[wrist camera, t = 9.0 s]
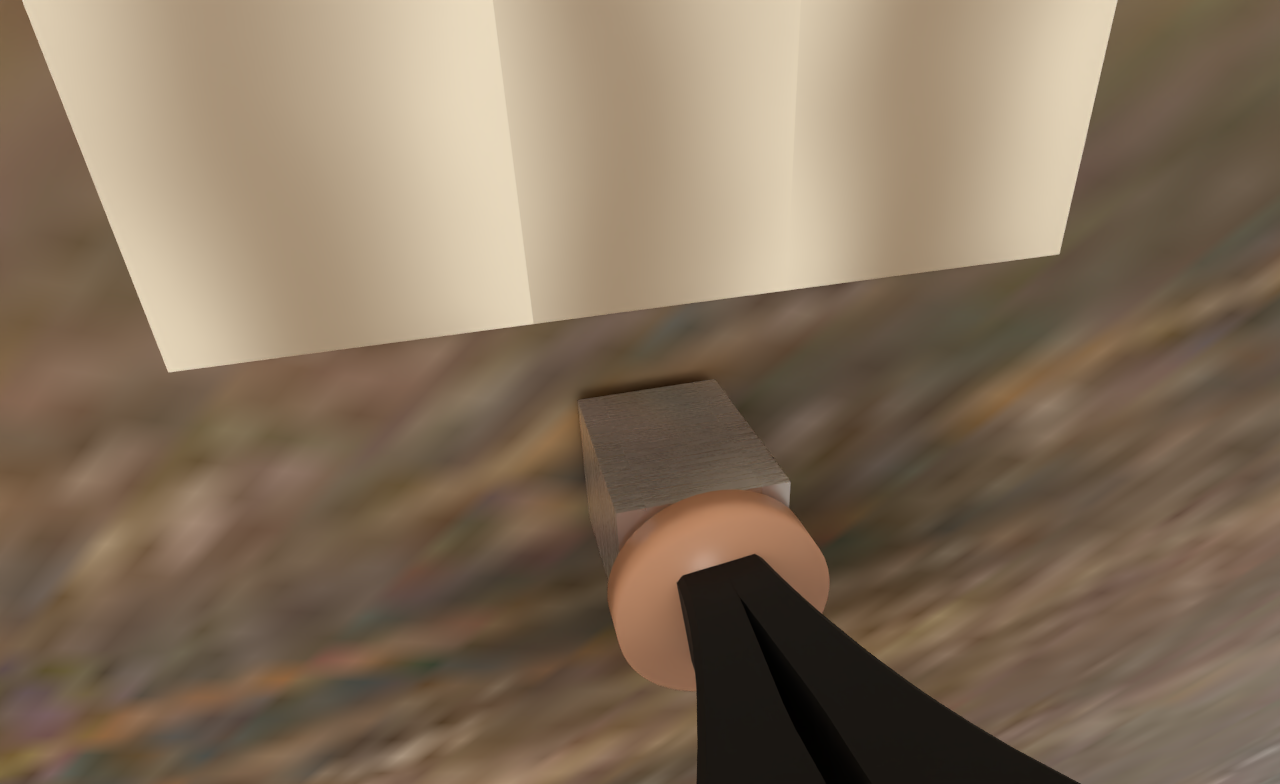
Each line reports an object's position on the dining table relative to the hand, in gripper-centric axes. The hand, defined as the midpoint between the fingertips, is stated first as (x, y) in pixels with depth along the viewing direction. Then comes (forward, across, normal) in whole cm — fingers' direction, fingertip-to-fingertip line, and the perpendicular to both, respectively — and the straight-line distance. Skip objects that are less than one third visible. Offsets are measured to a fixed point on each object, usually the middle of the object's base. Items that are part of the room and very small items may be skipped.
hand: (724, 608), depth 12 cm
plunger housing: (+6, 0, 0) cm, 6 cm away
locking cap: (+4, 0, 0) cm, 4 cm away
